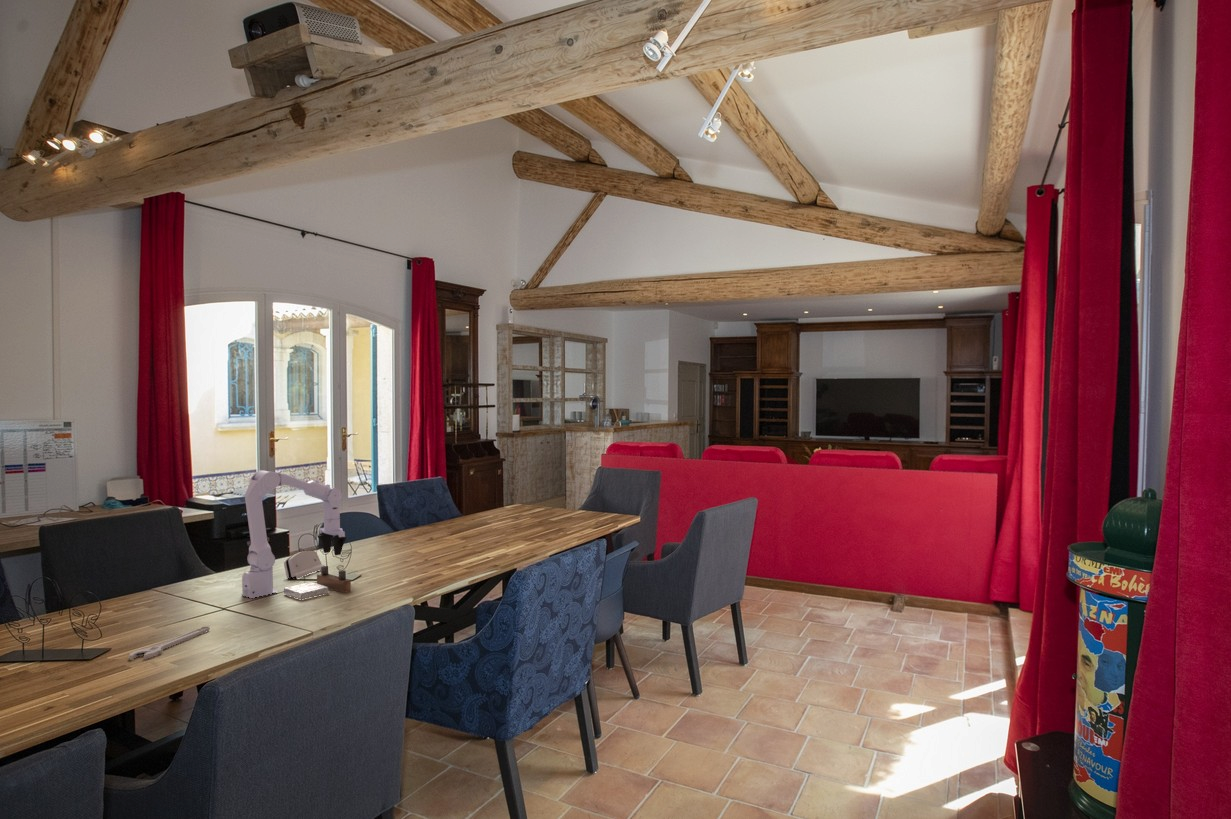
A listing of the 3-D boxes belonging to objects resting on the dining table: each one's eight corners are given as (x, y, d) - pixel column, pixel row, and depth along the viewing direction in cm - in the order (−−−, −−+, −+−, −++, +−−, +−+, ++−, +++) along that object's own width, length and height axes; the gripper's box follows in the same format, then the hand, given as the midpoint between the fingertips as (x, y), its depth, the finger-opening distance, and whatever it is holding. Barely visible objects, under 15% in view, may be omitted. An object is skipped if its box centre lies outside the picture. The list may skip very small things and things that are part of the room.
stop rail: (343, 592, 252) (342, 573, 252) (317, 585, 264) (316, 566, 263) (350, 590, 255) (350, 571, 255) (324, 583, 266) (324, 564, 266)
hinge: (297, 579, 272) (289, 555, 273) (287, 583, 273) (280, 558, 274) (326, 569, 288) (318, 546, 289) (317, 572, 290) (309, 549, 290)
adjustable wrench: (204, 631, 214) (204, 625, 214) (221, 633, 212) (221, 627, 212) (125, 660, 190) (125, 653, 190) (143, 662, 188) (143, 656, 188)
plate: (301, 602, 243) (301, 593, 243) (284, 596, 251) (283, 587, 251) (328, 595, 251) (328, 587, 251) (311, 590, 259) (310, 581, 259)
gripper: (351, 518, 270) (352, 554, 270) (331, 515, 279) (331, 549, 279) (334, 521, 265) (335, 557, 265) (314, 517, 273) (315, 552, 274)
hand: (332, 553), depth 272 cm, fingers open, 7 cm apart
